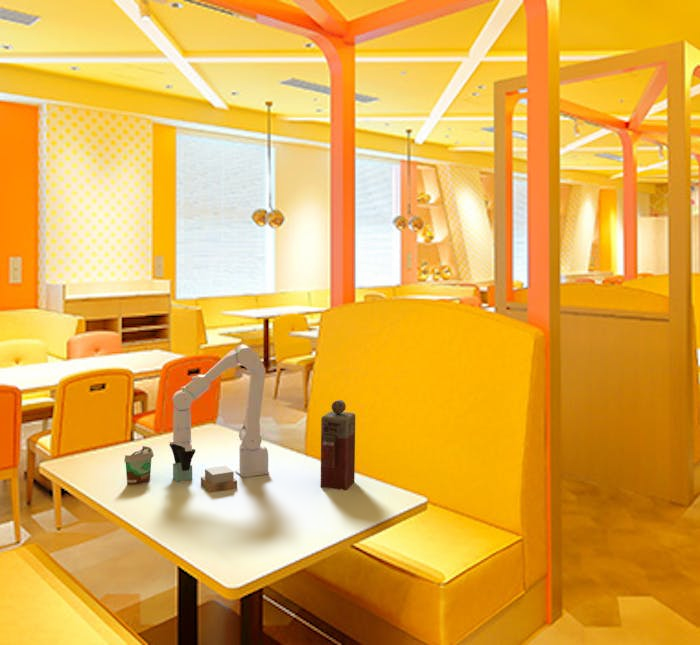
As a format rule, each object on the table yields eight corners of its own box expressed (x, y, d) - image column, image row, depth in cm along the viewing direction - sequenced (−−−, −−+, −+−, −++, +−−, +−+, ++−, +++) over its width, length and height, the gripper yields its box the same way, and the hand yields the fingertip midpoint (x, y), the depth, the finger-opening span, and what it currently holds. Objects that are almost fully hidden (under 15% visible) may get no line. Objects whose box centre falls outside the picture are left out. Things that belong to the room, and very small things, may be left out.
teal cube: (187, 475, 230) (187, 461, 229) (192, 480, 225) (192, 465, 225) (173, 478, 227) (172, 463, 227) (177, 482, 223) (177, 467, 222)
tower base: (227, 481, 225) (227, 473, 225) (237, 489, 218) (237, 480, 217) (200, 486, 221) (200, 477, 220) (210, 494, 213) (210, 485, 213)
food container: (142, 487, 217) (141, 457, 216) (124, 486, 218) (124, 455, 217) (160, 475, 229) (160, 446, 228) (143, 474, 230) (143, 445, 229)
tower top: (225, 474, 223) (225, 465, 223) (233, 480, 217) (233, 471, 217) (205, 477, 220) (205, 468, 219) (212, 484, 214) (212, 474, 213)
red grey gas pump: (317, 489, 218) (318, 403, 215) (329, 478, 228) (330, 396, 226) (344, 492, 215) (345, 405, 212) (354, 481, 226) (355, 398, 223)
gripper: (164, 423, 229) (164, 462, 230) (176, 433, 216) (176, 474, 217) (184, 421, 232) (184, 460, 234) (198, 430, 220) (198, 471, 221)
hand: (182, 467), depth 226 cm, fingers open, 7 cm apart
